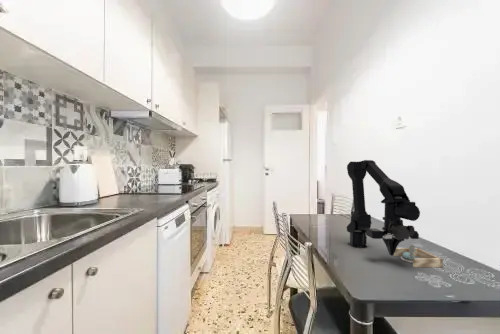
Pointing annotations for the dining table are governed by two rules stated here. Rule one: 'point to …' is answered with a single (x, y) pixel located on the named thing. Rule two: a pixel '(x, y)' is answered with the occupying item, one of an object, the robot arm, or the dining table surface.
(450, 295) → the dining table surface
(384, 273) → the dining table surface
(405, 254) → the pacifier
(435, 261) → the box
